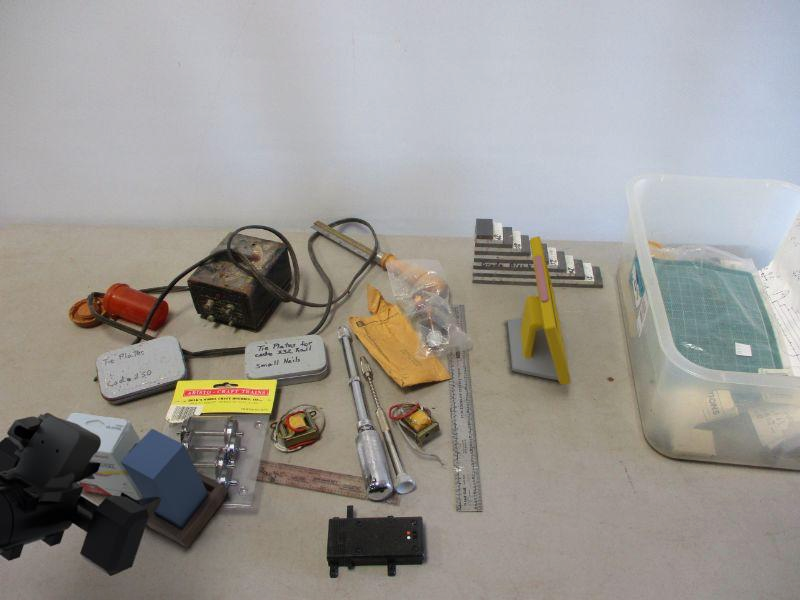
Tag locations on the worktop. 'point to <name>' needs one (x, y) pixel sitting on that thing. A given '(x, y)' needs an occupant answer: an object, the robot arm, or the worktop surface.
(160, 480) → the blue faceted prism
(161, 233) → the worktop surface
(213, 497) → the base pad
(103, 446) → the ink box
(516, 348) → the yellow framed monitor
